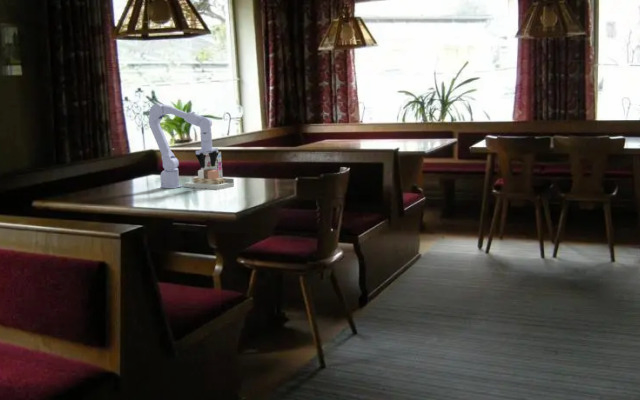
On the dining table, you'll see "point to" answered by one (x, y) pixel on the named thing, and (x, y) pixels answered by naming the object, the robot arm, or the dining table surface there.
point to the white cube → (200, 174)
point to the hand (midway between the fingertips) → (207, 166)
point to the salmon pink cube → (213, 174)
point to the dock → (227, 184)
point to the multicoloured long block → (208, 181)
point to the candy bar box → (217, 164)
